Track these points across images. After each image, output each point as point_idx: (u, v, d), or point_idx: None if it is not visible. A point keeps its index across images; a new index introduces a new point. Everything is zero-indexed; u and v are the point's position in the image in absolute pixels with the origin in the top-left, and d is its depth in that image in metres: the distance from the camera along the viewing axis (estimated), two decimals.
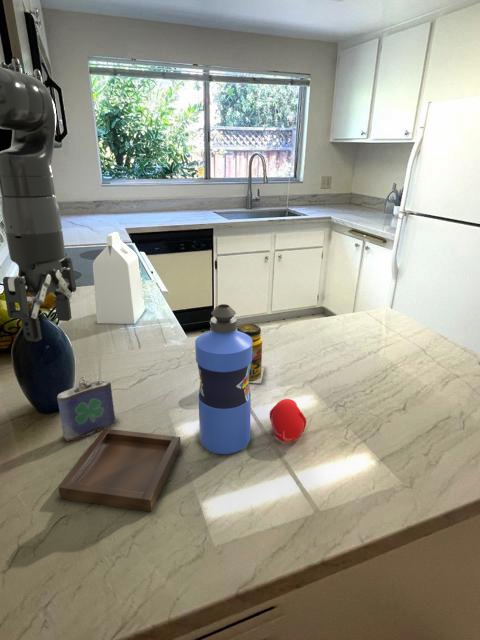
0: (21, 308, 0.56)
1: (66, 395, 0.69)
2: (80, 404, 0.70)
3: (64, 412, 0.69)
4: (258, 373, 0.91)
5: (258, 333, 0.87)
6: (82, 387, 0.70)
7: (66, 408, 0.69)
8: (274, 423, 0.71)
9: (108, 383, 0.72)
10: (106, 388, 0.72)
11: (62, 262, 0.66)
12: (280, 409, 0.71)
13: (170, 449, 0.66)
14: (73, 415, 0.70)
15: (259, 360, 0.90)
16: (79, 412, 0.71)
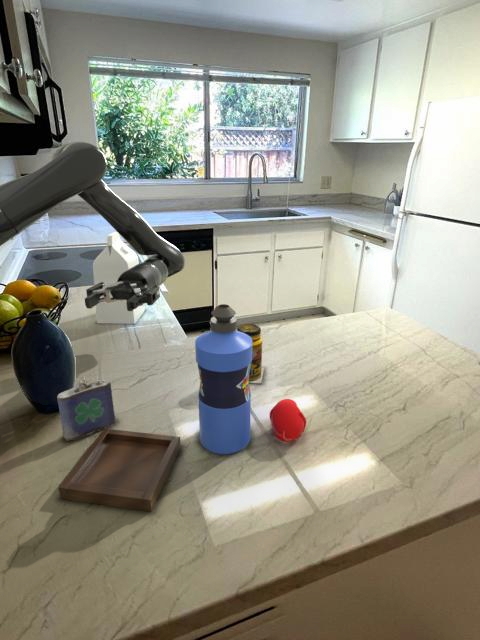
0: (154, 301, 0.83)
1: (66, 395, 0.69)
2: (80, 404, 0.70)
3: (64, 412, 0.69)
4: (258, 373, 0.91)
5: (258, 333, 0.87)
6: (82, 387, 0.70)
7: (66, 408, 0.69)
8: (274, 423, 0.71)
9: (108, 383, 0.72)
10: (106, 388, 0.72)
11: None
12: (280, 409, 0.71)
13: (170, 449, 0.66)
14: (73, 415, 0.70)
15: (259, 360, 0.90)
16: (79, 412, 0.71)
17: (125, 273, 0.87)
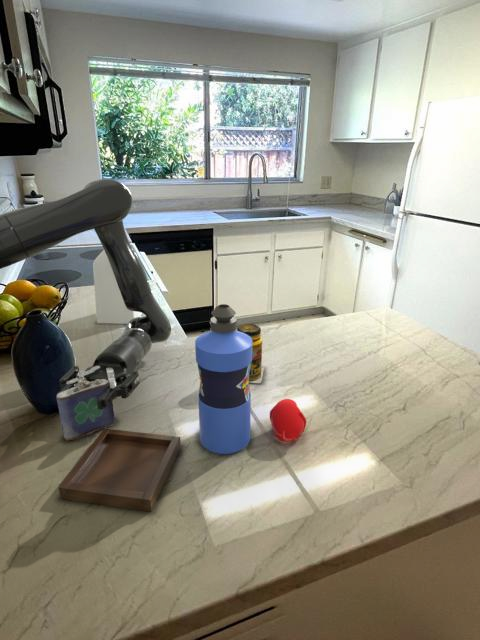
0: (130, 393, 0.75)
1: (65, 395, 0.69)
2: (80, 403, 0.70)
3: (63, 411, 0.69)
4: (258, 373, 0.91)
5: (258, 333, 0.87)
6: (81, 386, 0.70)
7: (65, 408, 0.69)
8: (274, 423, 0.71)
9: (107, 382, 0.72)
10: (105, 387, 0.72)
11: None
12: (280, 409, 0.71)
13: (170, 449, 0.66)
14: (73, 414, 0.70)
15: (259, 360, 0.90)
16: (78, 412, 0.71)
17: (102, 355, 0.80)
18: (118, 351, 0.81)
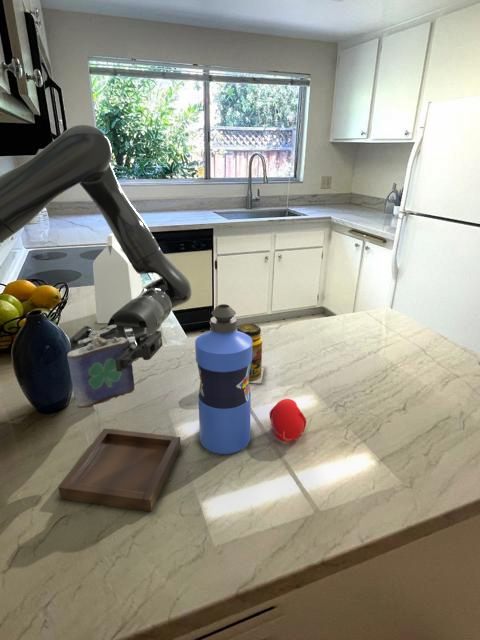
0: (153, 354, 0.64)
1: (77, 353, 0.58)
2: (94, 364, 0.59)
3: (75, 373, 0.58)
4: (258, 373, 0.91)
5: (258, 333, 0.87)
6: (96, 344, 0.59)
7: (78, 368, 0.58)
8: (274, 423, 0.71)
9: (126, 341, 0.61)
10: (124, 346, 0.61)
11: None
12: (280, 409, 0.71)
13: (170, 449, 0.66)
14: (86, 377, 0.59)
15: (259, 360, 0.90)
16: (93, 375, 0.60)
17: (118, 313, 0.68)
18: (137, 309, 0.69)
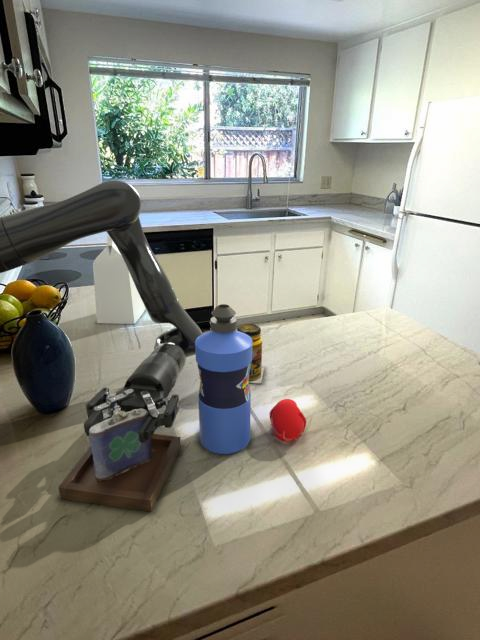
0: (173, 420, 0.64)
1: (99, 429, 0.58)
2: (115, 438, 0.60)
3: (97, 449, 0.59)
4: (258, 373, 0.91)
5: (258, 333, 0.87)
6: (117, 419, 0.60)
7: (99, 444, 0.58)
8: (274, 423, 0.71)
9: (146, 413, 0.62)
10: (144, 419, 0.62)
11: None
12: (280, 409, 0.71)
13: (170, 449, 0.66)
14: (107, 451, 0.60)
15: (259, 360, 0.90)
16: (113, 448, 0.60)
17: (135, 376, 0.69)
18: (153, 371, 0.70)
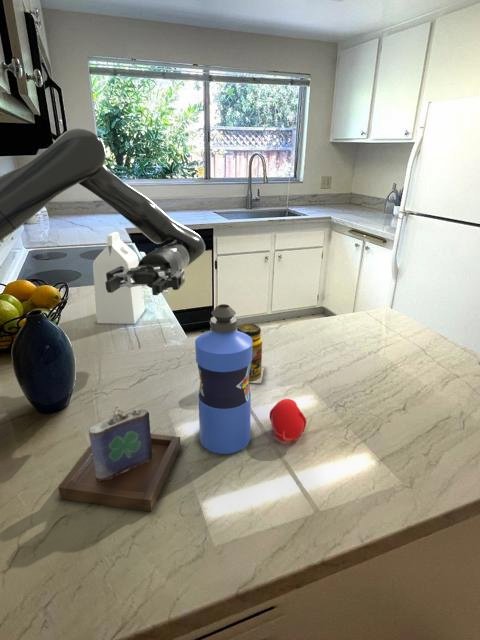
0: (180, 286, 0.76)
1: (99, 429, 0.58)
2: (115, 438, 0.60)
3: (97, 448, 0.59)
4: (258, 373, 0.91)
5: (258, 333, 0.87)
6: (117, 419, 0.60)
7: (99, 444, 0.58)
8: (274, 423, 0.71)
9: (146, 413, 0.62)
10: (144, 419, 0.62)
11: None
12: (280, 409, 0.71)
13: (170, 449, 0.66)
14: (107, 451, 0.60)
15: (259, 360, 0.90)
16: (113, 448, 0.60)
17: (147, 256, 0.81)
18: (162, 253, 0.82)
